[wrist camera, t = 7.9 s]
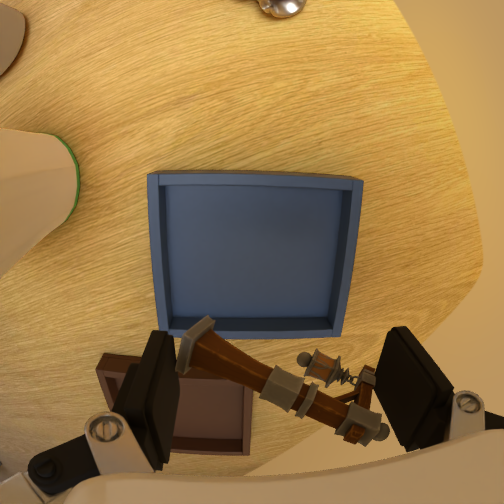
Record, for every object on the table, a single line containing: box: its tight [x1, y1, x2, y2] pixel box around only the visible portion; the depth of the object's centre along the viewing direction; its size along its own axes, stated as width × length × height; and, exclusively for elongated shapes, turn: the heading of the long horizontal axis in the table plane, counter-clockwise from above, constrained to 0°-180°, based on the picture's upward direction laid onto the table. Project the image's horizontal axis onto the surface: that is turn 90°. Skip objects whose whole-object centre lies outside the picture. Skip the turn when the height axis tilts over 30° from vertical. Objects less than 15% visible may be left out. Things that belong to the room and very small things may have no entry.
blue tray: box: [147, 170, 364, 339], centre depth 23 cm, size 15×13×3 cm
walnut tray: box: [95, 354, 253, 456], centre depth 28 cm, size 15×13×3 cm
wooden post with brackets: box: [175, 315, 390, 447], centre depth 11 cm, size 2×8×4 cm, turn 73°
